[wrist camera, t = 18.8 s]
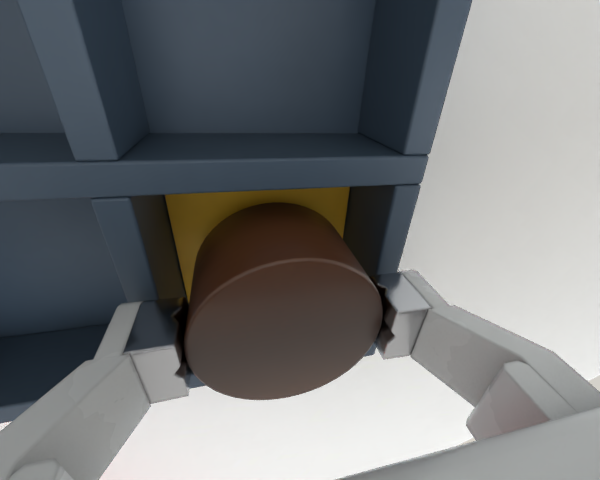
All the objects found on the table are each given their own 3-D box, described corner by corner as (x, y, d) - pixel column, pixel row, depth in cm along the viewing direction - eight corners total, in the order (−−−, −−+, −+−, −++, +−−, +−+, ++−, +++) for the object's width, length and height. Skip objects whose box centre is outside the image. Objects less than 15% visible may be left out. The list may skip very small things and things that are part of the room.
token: (181, 205, 8) (161, 272, 5) (352, 197, 9) (404, 248, 6) (205, 331, 10) (200, 416, 8) (335, 313, 11) (366, 382, 9)
